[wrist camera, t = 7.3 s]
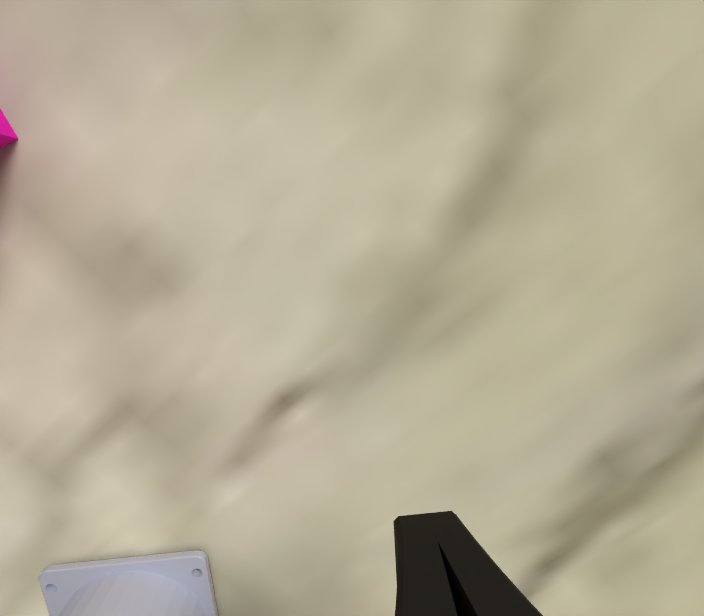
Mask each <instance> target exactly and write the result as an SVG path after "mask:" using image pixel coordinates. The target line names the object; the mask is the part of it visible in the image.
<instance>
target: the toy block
mask: <svg viewBox="0 0 704 616" xmlns="http://www.w3.org/2000/svg"><path fill="white" fill-rule="evenodd" d="M17 139H18V137H17V136H16V134H15V132H14V131H13V129H12V127H11V126H10V124H9V122H8V121H7V119H6V117H5V116H4V114H3V112H2V111H1V109H0V148H1V147H3V146H5V145H7V144H9V143H11V142H13V141H15V140H17Z"/></svg>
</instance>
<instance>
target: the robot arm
mask: <svg viewBox="0 0 704 616" xmlns="http://www.w3.org/2000/svg"><path fill="white" fill-rule="evenodd" d="M394 536H395V556H396V575H397V596H396V610H395V616H543V615H542V614H541V613H540V612H539V611H538V610H537V609H536V608H535V607H534V606H533V605H532V604H531V603H530V602H529V600H528V599H527V598H526V597H525V596H524V595H523V594H522V593H521V592H520V591H519V589H518V588H517V587H516V586H515V585H514V584H513V583H512V582H511V581H510V579H509V578H508V577H507V576H506V575H505V574H504V573H503V572H502V570H501V569H500V568H499V567H498V566H497V565H496V564H495V562H494V561H493V560H492V559H491V558H490V556H489V555H488V554H487V553H486V552H485V550H484V549H483V548H482V547H481V546H480V544H479V543H478V542H477V541H476V540H475V538H474V537H473V536H472V535H471V533H470V532H469V531H468V530H467V528H466V527H465V526H464V524H463V523H462V522H461V521H460V519H459V518H458V517H457V515H456V514H454V513H453V512H452V511H446V512H436V513H426V514H416V515H406V516H398V517H397V518H396V519H395V520H394ZM197 569H200V570H197ZM39 582H40V585H41V588H42V592H43V595H44V598H45V602H46V605H47V608H48V612H49V615H50V616H218V611H217V606H216V600H215V595H214V589H213V584H212V578H211V573H210V567H209V562H208V557H207V555H206V554H205V553H204V552H203V551H199V550H195V551H185V552H175V553H165V554H156V555H146V556H136V557H126V558H116V559H107V560H97V561H87V562H77V563H68V564H58V565H50V566H47V567H46V568H45V569H44V570H43V571H42V572H41V574H40V575H39Z"/></svg>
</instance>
